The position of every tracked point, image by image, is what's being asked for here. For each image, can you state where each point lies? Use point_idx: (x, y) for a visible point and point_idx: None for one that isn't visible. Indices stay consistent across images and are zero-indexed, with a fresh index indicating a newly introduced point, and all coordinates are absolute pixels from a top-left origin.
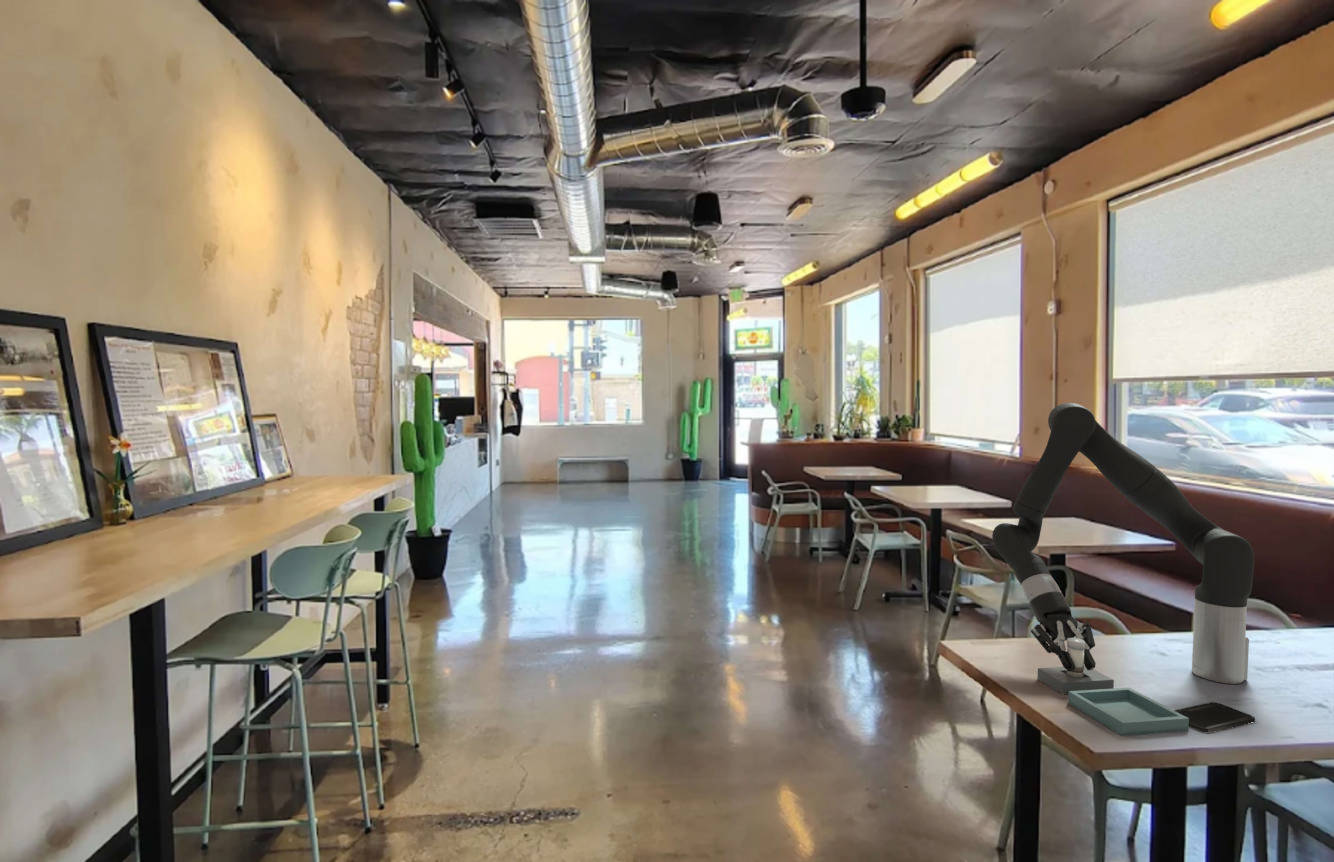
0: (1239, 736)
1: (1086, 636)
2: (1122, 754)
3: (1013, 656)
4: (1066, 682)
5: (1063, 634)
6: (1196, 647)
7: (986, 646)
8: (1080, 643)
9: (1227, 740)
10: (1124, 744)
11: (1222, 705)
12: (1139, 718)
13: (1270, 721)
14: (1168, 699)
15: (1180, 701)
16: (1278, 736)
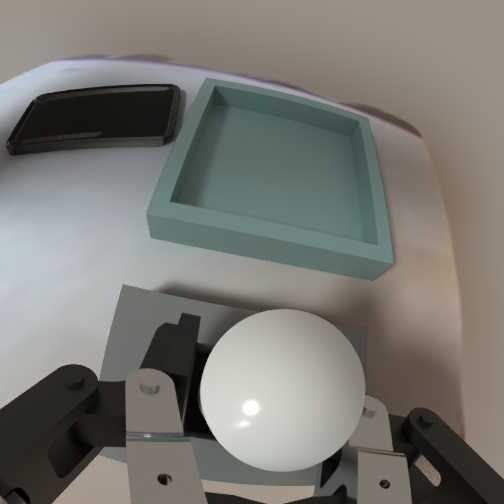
0: (134, 77)
1: (43, 454)
2: (393, 120)
3: None
4: (353, 326)
5: (363, 489)
6: None
7: None
8: (308, 314)
9: (172, 75)
10: (372, 127)
11: (12, 137)
12: (268, 144)
13: (21, 100)
14: (45, 201)
15: (36, 185)
16: (79, 71)
